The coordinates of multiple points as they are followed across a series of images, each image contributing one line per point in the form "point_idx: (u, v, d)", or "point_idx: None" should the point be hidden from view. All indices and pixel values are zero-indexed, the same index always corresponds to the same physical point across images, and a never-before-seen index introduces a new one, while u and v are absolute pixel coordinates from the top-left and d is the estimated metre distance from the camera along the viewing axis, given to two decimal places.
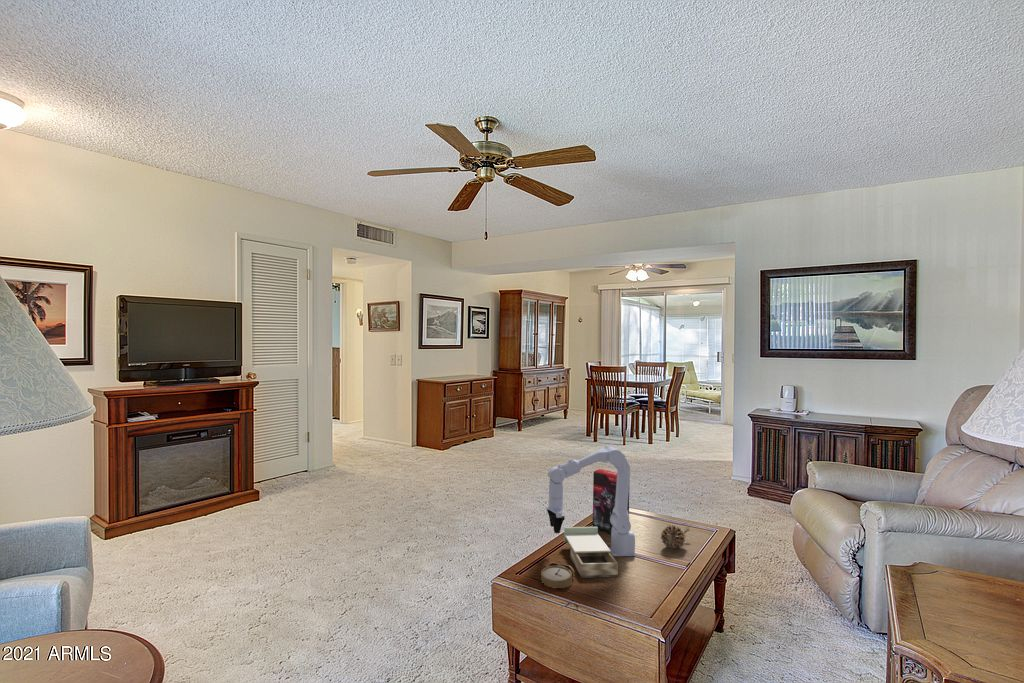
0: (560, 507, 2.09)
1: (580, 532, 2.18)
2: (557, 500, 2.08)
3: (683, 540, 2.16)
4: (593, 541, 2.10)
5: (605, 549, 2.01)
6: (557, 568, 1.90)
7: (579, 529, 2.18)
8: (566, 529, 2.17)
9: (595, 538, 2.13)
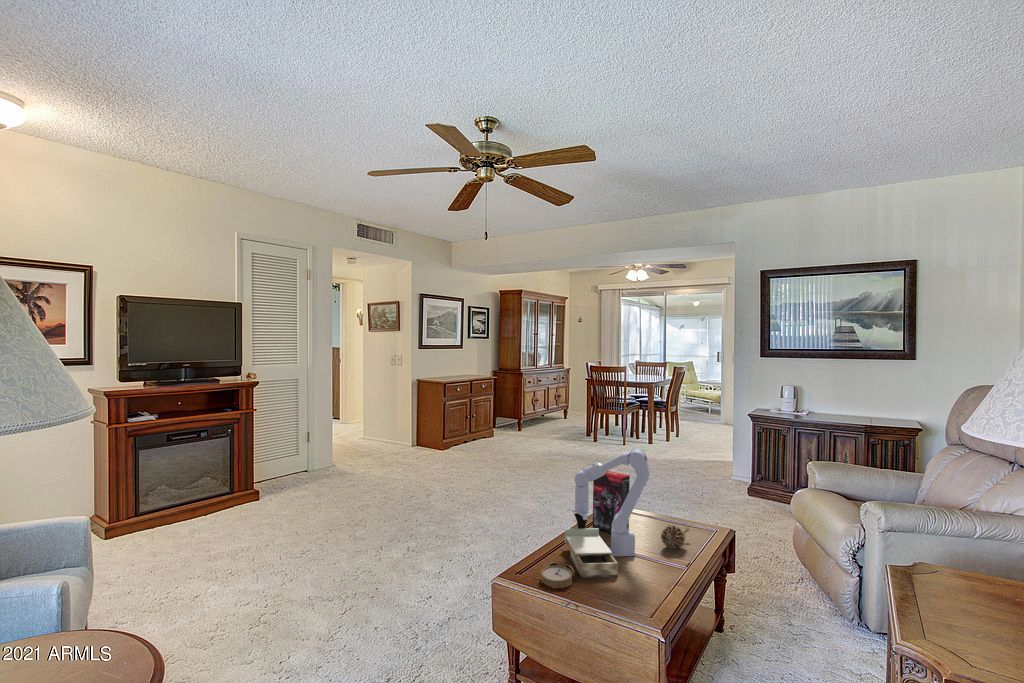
0: (586, 510, 2.16)
1: (581, 534, 2.16)
2: (583, 503, 2.16)
3: (683, 540, 2.16)
4: (594, 543, 2.08)
5: (606, 551, 2.00)
6: (557, 568, 1.90)
7: (580, 530, 2.16)
8: (567, 531, 2.16)
9: (596, 540, 2.11)
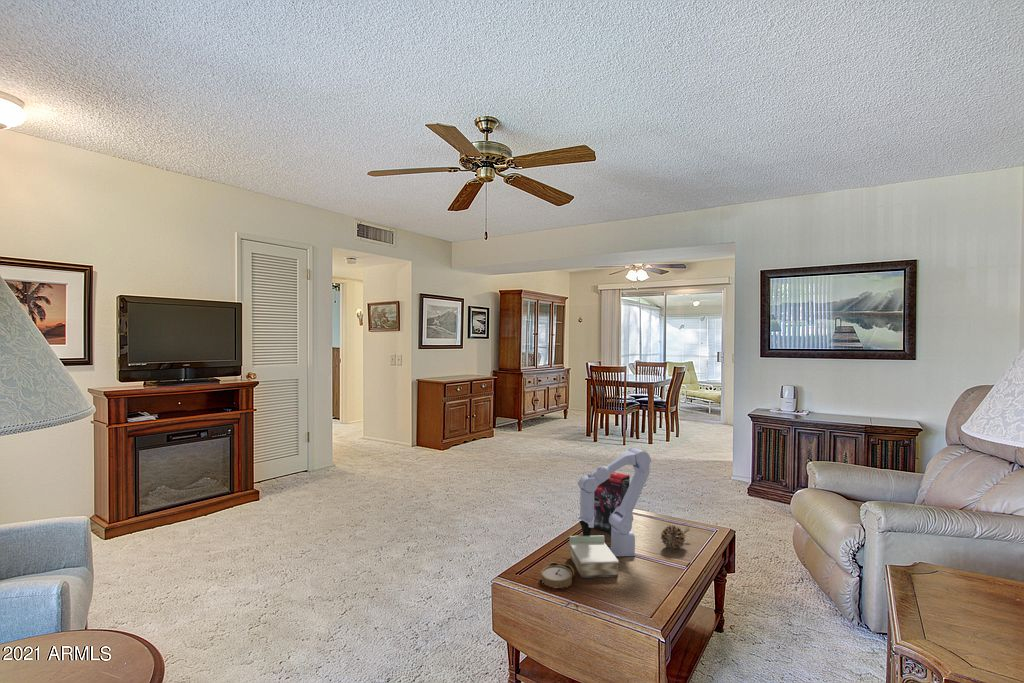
0: (592, 517, 2.07)
1: (586, 541, 2.08)
2: (589, 509, 2.07)
3: (683, 540, 2.16)
4: (600, 551, 1.99)
5: (613, 560, 1.91)
6: (557, 568, 1.90)
7: (585, 538, 2.08)
8: (571, 538, 2.07)
9: (602, 547, 2.03)
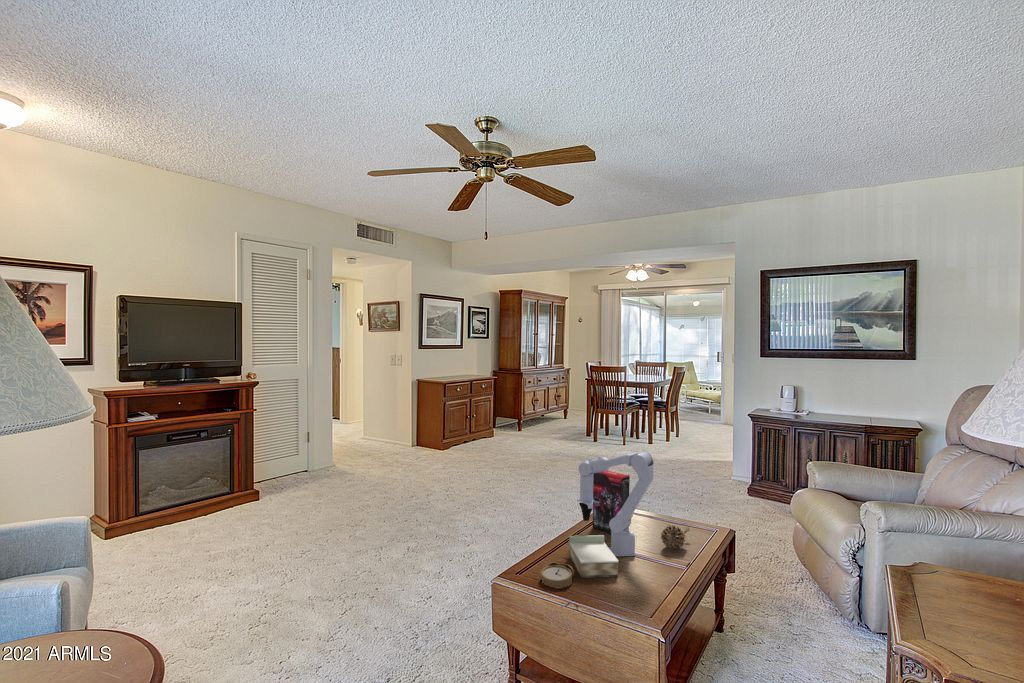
0: (591, 499, 2.20)
1: (586, 541, 2.08)
2: (588, 492, 2.19)
3: (683, 540, 2.16)
4: (600, 551, 2.00)
5: (613, 559, 1.91)
6: (557, 568, 1.90)
7: (585, 538, 2.08)
8: (571, 538, 2.07)
9: (602, 547, 2.03)
